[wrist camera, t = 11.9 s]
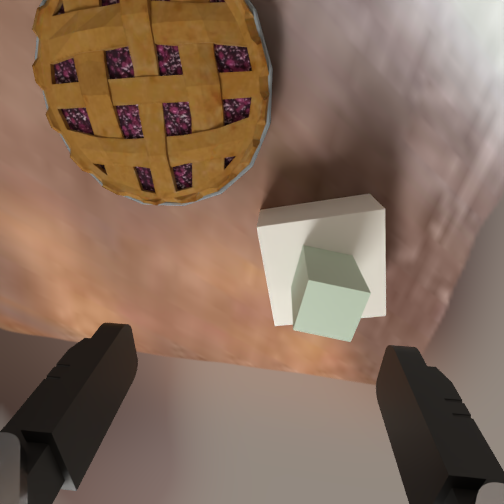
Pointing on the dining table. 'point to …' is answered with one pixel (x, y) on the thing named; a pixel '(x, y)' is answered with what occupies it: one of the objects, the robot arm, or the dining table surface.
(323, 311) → the sage block
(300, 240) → the base box
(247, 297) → the dining table surface
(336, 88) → the dining table surface
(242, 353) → the dining table surface
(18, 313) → the dining table surface
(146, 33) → the pie
